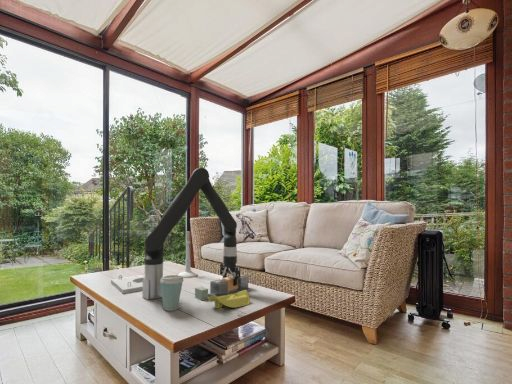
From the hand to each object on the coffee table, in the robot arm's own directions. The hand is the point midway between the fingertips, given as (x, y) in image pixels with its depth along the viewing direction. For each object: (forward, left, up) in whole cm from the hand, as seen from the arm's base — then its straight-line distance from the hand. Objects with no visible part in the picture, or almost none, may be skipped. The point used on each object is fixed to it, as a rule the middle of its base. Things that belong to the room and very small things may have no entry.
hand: (229, 284), depth 164 cm
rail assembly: (-1, 0, -4) cm, 4 cm away
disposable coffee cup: (-36, +1, -4) cm, 36 cm away
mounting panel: (-25, +50, -5) cm, 56 cm away
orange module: (0, 0, -3) cm, 3 cm away
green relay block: (-17, +3, -4) cm, 18 cm away
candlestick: (+5, +47, -4) cm, 47 cm away
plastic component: (-15, -15, -4) cm, 22 cm away
